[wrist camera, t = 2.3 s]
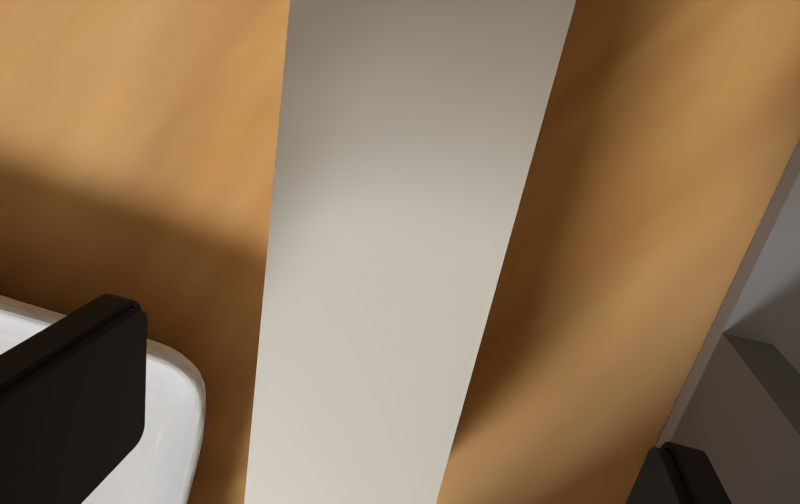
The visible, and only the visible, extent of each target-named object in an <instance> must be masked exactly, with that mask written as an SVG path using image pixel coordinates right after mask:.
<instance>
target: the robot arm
mask: <svg viewBox="0 0 800 504" xmlns="http://www.w3.org/2000/svg"><path fill="white" fill-rule="evenodd" d="M146 353H147V315H146V313H145V312H144V311H142V310H141V307H140V305H139V303H138V302H137V301H134V300H130V299H127V298H123V297H119V296H115V295H111V294H104V295H101V296H100V297H98V298H96V299H95V300H93V301H91V302H89V303H88V304H86V305H84V306H83V307H81V308H79V309H77V310H76V311H74V312H72V313H71V314H69V315H67V316H65V317H64V318H62V319H60V320H59V321H57V322H55V323H54V324H52V325H50V326H48V327H47V328H45V329H43V330H42V331H40V332H38V333H36V334H35V335H33V336H31V337H30V338H28V339H26V340H25V341H23V342H21V343H19V344H18V345H16V346H14V347H13V348H11V349H9V350H7V351H6V352H4V353H2V354H1V355H0V504H81V503H82V502H83V501H84V500H85V499H86V498H87V497H88V496H89V495H90V494H91V493H92V492H93V491H94V490H95V489H96V488H97V487H98V486H99V485H100V483H101V482H102V481H103V480H104V479H105V478H106V477H107V476H108V475H109V474H110V473H111V472H112V471H113V470H114V469H115V468H116V467H117V466H118V465H119V464H120V462H121V461H122V460H123V459H124V458H125V457H126V456H127V455H128V454H129V453H130V452H131V451H132V450H133V449H134V448H135V447H136V445H137V444H138V443H139V441H140V439H141V437H142V435H143V432H144V427H145V396H146ZM626 504H732V503H731V501H730V499H729V497H728V495H727V493H726V491H725V489H724V487H723V486H722V484H721V482H720V480H719V478H718V476H717V474H716V472H715V470H714V468H713V466H712V464H711V462H710V460H709V458H708V456H707V455H706V454H705V452H704V451H702V450H699V449H695V448H692V447H688V446H684V445H680V444H676V443H673V442H669V441H668V442H665V443H664V444H663V445H662V446H661V447H660V448H658V447H652V448H651V449H650V450H649V452H648V454H647V456H646V459H645V461H644V463H643V465H642V468H641V470H640V472H639V475H638V477H637V479H636V481H635V484H634V486H633V488H632V491H631V493H630V495H629V497H628V500H627V502H626Z"/></svg>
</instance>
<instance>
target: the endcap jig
mask: <svg viewBox="0 0 800 504" xmlns="http://www.w3.org/2000/svg"><path fill="white" fill-rule="evenodd" d="M668 441H669V442H673V443H676V444H680V445H684V446H688V447H692V448H695V449H699V450H702V451H704V452H705V454H706V455H707V456H708V458H709V460H710V462H711V464H712V466H713V468H714V470H715V472H716V474H717V476H718V478H719V480H720V482H721V484H722V486H723V487H724V489H725V491H726V493H727V495H728V497H729V499H730V501H731V503H732V504H800V140H799V142H798V144H797V146H796V148H795V150H794V153H793V155H792V157H791V159H790V161H789V163H788V165H787V167H786V170H785V172H784V174H783V176H782V178H781V180H780V182H779V184H778V187H777V189H776V191H775V193H774V195H773V197H772V199H771V201H770V204H769V206H768V208H767V210H766V212H765V214H764V216H763V218H762V221H761V223H760V225H759V227H758V229H757V231H756V233H755V235H754V238H753V240H752V242H751V244H750V246H749V248H748V250H747V252H746V255H745V257H744V259H743V261H742V263H741V265H740V267H739V269H738V272H737V274H736V276H735V278H734V280H733V282H732V284H731V286H730V289H729V291H728V293H727V295H726V297H725V299H724V301H723V303H722V306H721V308H720V310H719V312H718V314H717V316H716V318H715V320H714V323H713V325H712V327H711V329H710V331H709V333H708V335H707V337H706V340H705V342H704V344H703V346H702V348H701V350H700V352H699V354H698V357H697V359H696V361H695V363H694V365H693V367H692V369H691V371H690V374H689V376H688V378H687V380H686V382H685V384H684V386H683V389H682V391H681V393H680V395H679V397H678V399H677V401H676V403H675V406H674V408H673V410H672V412H671V414H670V416H669V418H668V420H667V423H666V425H665V427H664V429H663V431H662V433H661V435H660V437H659V440H658V442H657V444H656V446H655V447H658V448H660V447H661V446H662V445H663V444H664V443H665V442H668Z"/></svg>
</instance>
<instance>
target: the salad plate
mask: <svg viewBox="0 0 800 504" xmlns="http://www.w3.org/2000/svg"><path fill="white" fill-rule="evenodd" d="M65 316H67V315H64V314H60V313H57V312H54V311H50V310H47V309H44V308H41V307H37V306H34V305H31V304H27V303H24V302H21V301H17V300H14V299H11V298H8V297H5V296H2V295H0V355H1V354H2V353H4V352H6V351H7V350H9V349H11V348H13V347H14V346H16V345H18V344H19V343H21V342H23V341H25V340H26V339H28V338H30V337H31V336H33V335H35V334H36V333H38V332H40V331H42V330H43V329H45V328H47V327H48V326H50V325H52V324H54V323H55V322H57V321H59V320H60V319H62V318H64V317H65ZM205 412H206V390H205V383H204V381H203V378H202V376H201V373H200V372H199V370H198V369H197V367H196V366H195V365H194V364H193V363H192V362H191V361H190V360H189V359H187V358H186V357H185V356H184V355H182V354H181V353H179V352H178V351H176V350H175V349H173V348H171V347H169V346H166V345H164V344H162V343H159V342H156V341H153V340H150V339H147V353H146V396H145V427H144V432H143V435H142V437H141V439H140V441H139V443H138V444H137V445H136V447H135V448H134V449H133V450H132V451H131V452H130V453H129V454H128V455H127V456H126V457H125V458H124V459H123V460H122V461H121V462H120V464H119V465H118V466H117V467H116V468H115V469H114V470H113V471H112V472H111V473H110V474H109V475H108V476H107V477H106V478H105V479H104V480H103V481H102V482H101V483H100V485H99V486H98V487H97V488H96V489H95V490H94V491H93V492H92V493H91V494H90V495H89V496H88V497H87V498H86V499H85V500H84V501H83V502H82V503H81V504H187V501H188V497H189V494H190V490H191V486H192V482H193V478H194V475H195V471H196V467H197V463H198V459H199V454H200V450H201V445H202V440H203V432H204V422H205Z"/></svg>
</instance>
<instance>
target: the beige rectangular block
mask: <svg viewBox="0 0 800 504" xmlns="http://www.w3.org/2000/svg"><path fill="white" fill-rule="evenodd" d="M575 3H576V0H290V7H289V18H288V29H287V40H286V51H285V62H284V73H283V84H282V95H281V106H280V117H279V128H278V139H277V150H276V161H275V172H274V183H273V194H272V205H271V216H270V227H269V238H268V249H267V260H266V271H265V282H264V293H263V303H262V314H261V325H260V336H259V347H258V358H257V369H256V380H255V391H254V402H253V413H252V424H251V435H250V446H249V457H248V468H247V479H246V490H245V501H244V504H436V500H437V497H438V493H439V490H440V486H441V483H442V479H443V475H444V472H445V468H446V465H447V461H448V458H449V454H450V450H451V447H452V443H453V440H454V436H455V433H456V429H457V425H458V422H459V418H460V415H461V411H462V407H463V404H464V400H465V397H466V393H467V390H468V386H469V382H470V379H471V375H472V372H473V368H474V365H475V361H476V357H477V354H478V350H479V347H480V343H481V339H482V336H483V332H484V329H485V325H486V322H487V318H488V314H489V311H490V307H491V304H492V300H493V297H494V293H495V289H496V286H497V282H498V279H499V275H500V271H501V268H502V264H503V261H504V257H505V254H506V250H507V246H508V243H509V239H510V236H511V232H512V229H513V225H514V221H515V218H516V214H517V211H518V207H519V203H520V200H521V196H522V193H523V189H524V186H525V182H526V178H527V175H528V171H529V168H530V164H531V161H532V157H533V153H534V150H535V146H536V143H537V139H538V136H539V132H540V128H541V125H542V121H543V118H544V114H545V110H546V107H547V103H548V100H549V96H550V93H551V89H552V85H553V82H554V78H555V75H556V71H557V68H558V64H559V60H560V57H561V53H562V50H563V46H564V42H565V39H566V35H567V32H568V28H569V25H570V21H571V17H572V14H573V10H574V7H575Z"/></svg>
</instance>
